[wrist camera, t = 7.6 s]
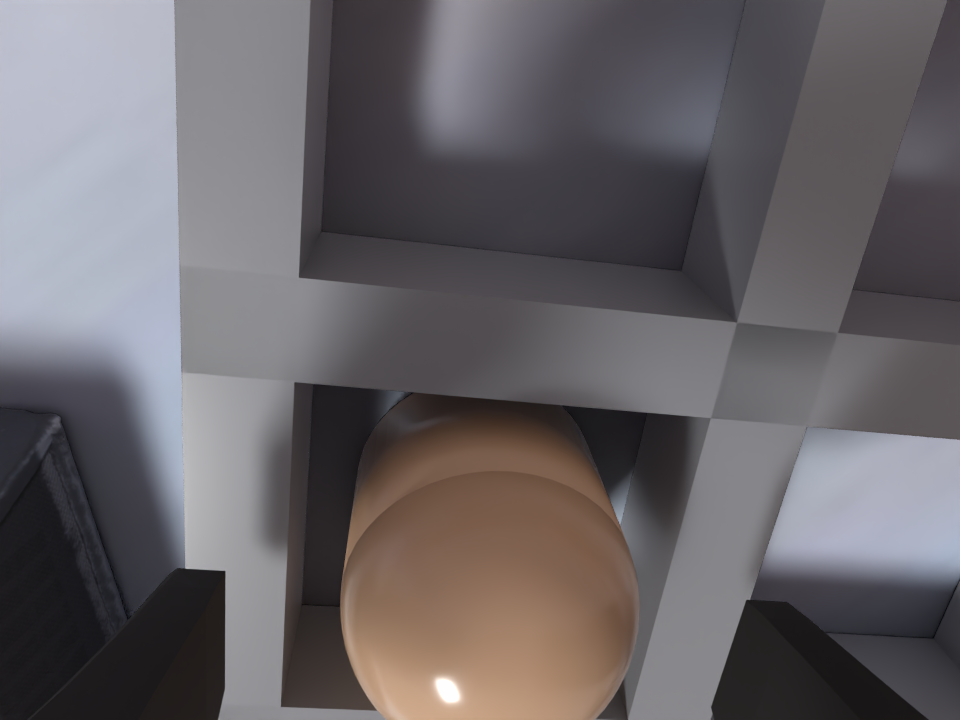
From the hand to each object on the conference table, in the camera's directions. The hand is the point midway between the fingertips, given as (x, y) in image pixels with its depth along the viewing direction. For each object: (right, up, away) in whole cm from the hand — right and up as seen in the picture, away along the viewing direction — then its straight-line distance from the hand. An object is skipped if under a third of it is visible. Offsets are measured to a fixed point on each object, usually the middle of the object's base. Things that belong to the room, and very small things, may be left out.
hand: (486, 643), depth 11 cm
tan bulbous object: (0, +2, +4) cm, 4 cm away
